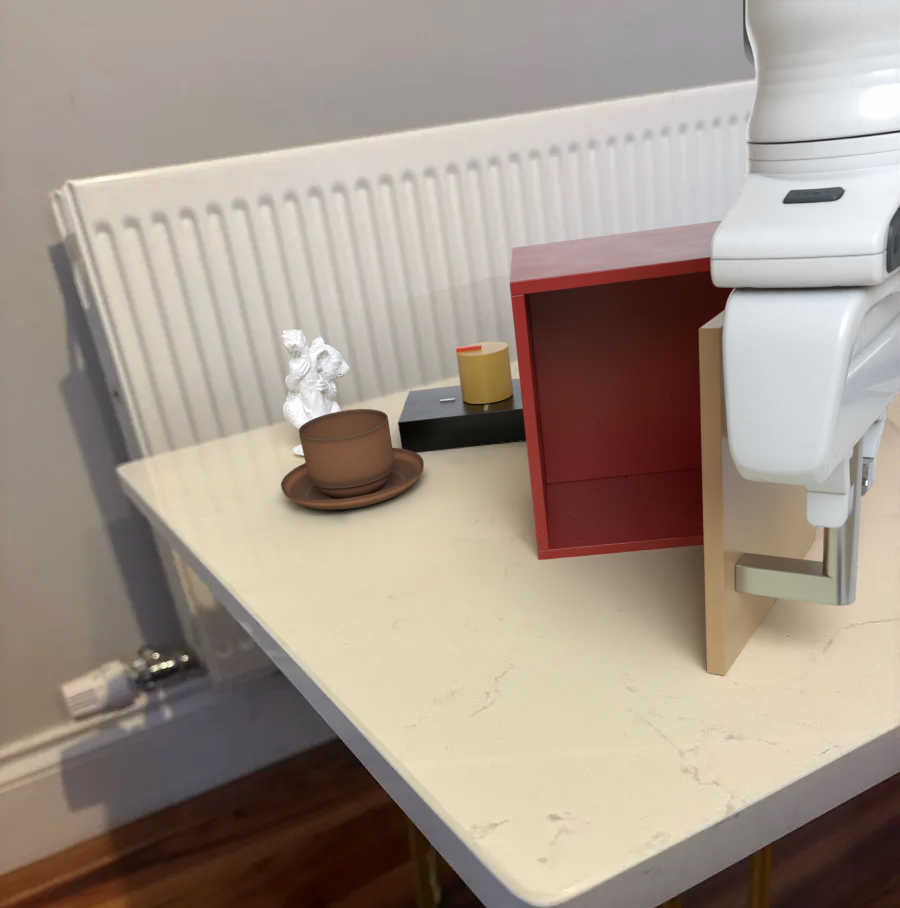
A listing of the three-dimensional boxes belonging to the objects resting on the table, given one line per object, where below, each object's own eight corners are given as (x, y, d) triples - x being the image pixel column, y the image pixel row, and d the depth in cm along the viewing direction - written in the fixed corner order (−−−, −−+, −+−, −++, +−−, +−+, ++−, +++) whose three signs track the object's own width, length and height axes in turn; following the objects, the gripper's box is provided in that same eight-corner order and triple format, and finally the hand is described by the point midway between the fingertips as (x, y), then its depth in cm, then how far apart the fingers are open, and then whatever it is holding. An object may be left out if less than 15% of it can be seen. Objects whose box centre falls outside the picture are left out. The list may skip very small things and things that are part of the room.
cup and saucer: (257, 506, 87) (240, 436, 84) (363, 459, 94) (351, 394, 91) (347, 533, 79) (332, 457, 76) (456, 480, 86) (446, 409, 83)
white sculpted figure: (340, 467, 93) (315, 334, 88) (273, 469, 95) (244, 340, 89) (371, 435, 100) (349, 311, 95) (307, 438, 102) (283, 317, 97)
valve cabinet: (805, 536, 68) (812, 244, 59) (538, 561, 70) (509, 282, 61) (764, 467, 79) (766, 214, 71) (537, 490, 81) (512, 247, 73)
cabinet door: (911, 550, 64) (935, 244, 55) (839, 697, 51) (855, 329, 43) (800, 538, 67) (806, 249, 59) (706, 672, 55) (698, 328, 46)
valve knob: (513, 385, 98) (508, 335, 96) (512, 400, 94) (507, 348, 91) (463, 391, 98) (457, 341, 96) (460, 406, 94) (453, 354, 92)
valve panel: (538, 406, 101) (535, 374, 100) (539, 439, 92) (536, 405, 91) (413, 420, 103) (408, 389, 101) (402, 453, 94) (397, 420, 92)
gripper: (845, 174, 53) (835, 433, 59) (691, 251, 38) (699, 584, 44) (981, 164, 49) (955, 440, 55) (869, 245, 35) (851, 607, 41)
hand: (840, 506), depth 50 cm, fingers closed
